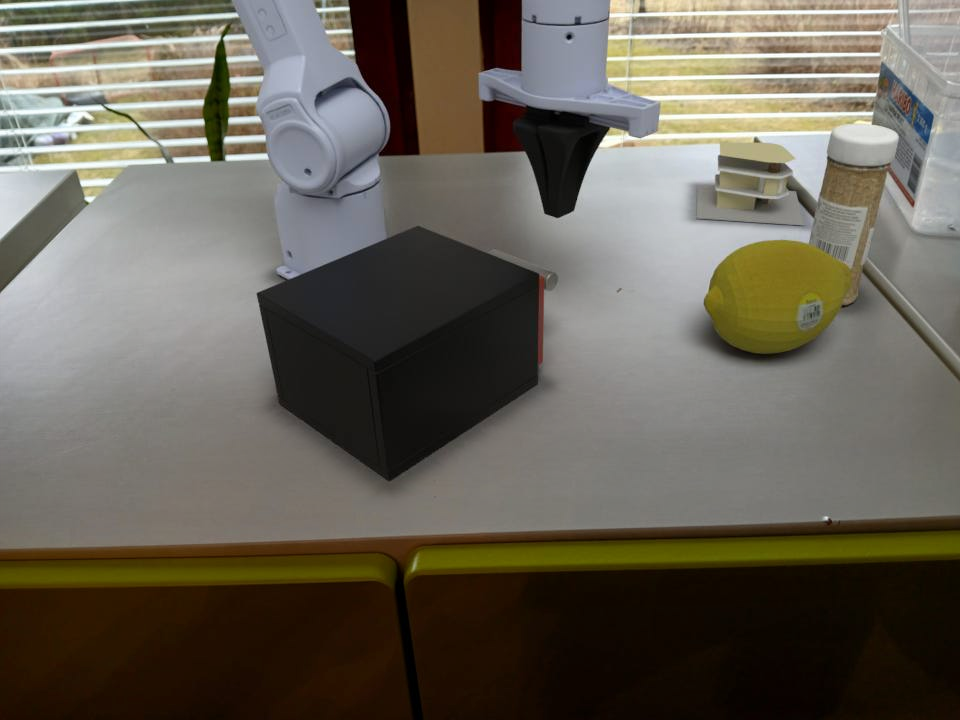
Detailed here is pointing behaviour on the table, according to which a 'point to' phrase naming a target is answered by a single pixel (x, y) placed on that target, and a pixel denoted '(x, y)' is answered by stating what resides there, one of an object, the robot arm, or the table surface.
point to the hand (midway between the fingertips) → (559, 212)
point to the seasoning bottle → (852, 195)
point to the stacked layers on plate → (751, 186)
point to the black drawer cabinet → (402, 344)
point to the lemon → (776, 295)
